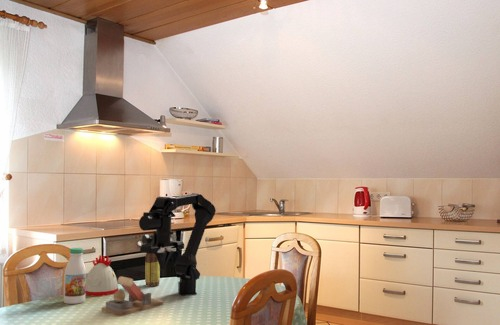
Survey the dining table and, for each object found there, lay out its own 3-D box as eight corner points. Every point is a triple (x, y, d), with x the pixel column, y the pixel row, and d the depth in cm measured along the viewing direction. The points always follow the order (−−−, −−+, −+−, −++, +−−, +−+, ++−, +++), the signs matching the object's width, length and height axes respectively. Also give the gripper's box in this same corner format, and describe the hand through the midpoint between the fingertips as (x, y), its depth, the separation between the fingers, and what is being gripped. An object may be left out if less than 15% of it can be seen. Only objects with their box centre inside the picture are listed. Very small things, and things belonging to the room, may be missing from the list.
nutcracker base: (144, 300, 180) (145, 287, 181) (162, 304, 175) (163, 291, 175) (101, 311, 164) (102, 296, 164) (120, 316, 158) (120, 301, 159)
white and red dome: (107, 297, 184) (108, 259, 184) (75, 294, 186) (77, 256, 187) (123, 289, 197) (125, 253, 198) (94, 287, 200) (95, 252, 201)
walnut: (120, 299, 167) (120, 288, 167) (127, 301, 165) (127, 290, 165) (110, 302, 164) (111, 290, 164) (118, 304, 161) (118, 292, 162)
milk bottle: (58, 302, 174) (61, 248, 174) (75, 298, 180) (77, 246, 181) (73, 305, 170) (75, 250, 171) (89, 301, 177) (91, 248, 178)
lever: (138, 294, 175) (120, 274, 168) (148, 297, 172) (130, 276, 165) (134, 301, 173) (116, 281, 166) (143, 303, 170) (125, 283, 163)
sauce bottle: (161, 284, 209) (162, 239, 209) (157, 287, 202) (158, 241, 203) (146, 283, 209) (148, 239, 210) (142, 286, 203) (144, 240, 204)
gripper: (165, 225, 194) (164, 263, 194) (131, 228, 179) (129, 269, 178) (185, 228, 188) (184, 266, 187) (151, 231, 173) (149, 273, 172)
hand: (162, 269), depth 181 cm, fingers closed
